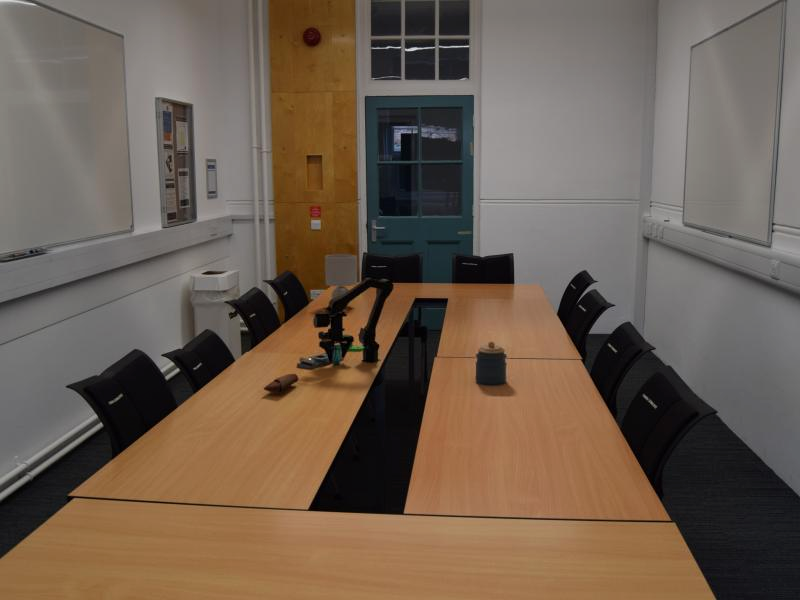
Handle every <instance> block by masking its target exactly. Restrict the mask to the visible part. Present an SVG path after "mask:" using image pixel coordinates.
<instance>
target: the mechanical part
mask: <svg viewBox="0 0 800 600" xmlns="http://www.w3.org/2000/svg"><path fill="white" fill-rule="evenodd" d="M344 335H350V334H349V333H345V334H344ZM351 343H352V344H351V345H350V347H349V349H348V351H347V352H361V351H362V352H363V348H365V347H363V345H361V346H357V345H354V344H353V342H351ZM340 350H341V348H340Z"/></svg>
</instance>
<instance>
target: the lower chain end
mask: <svg viewBox="0 0 800 600" xmlns="http://www.w3.org/2000/svg"><path fill="white" fill-rule="evenodd" d="M329 364H334V362H333V360H332V362H330V361H326V362H322V363H321V362H316V360H315V359H309V358H308V357H299V361H298V363H296V368H301V369H307V370H312V369H316V368H319V367H322V366H326V365H329Z"/></svg>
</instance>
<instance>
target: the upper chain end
mask: <svg viewBox="0 0 800 600" xmlns="http://www.w3.org/2000/svg"><path fill="white" fill-rule="evenodd" d="M307 358H309V359H315V360H316V362H321V363H322V362H326V361H329V359H328V356H327V354H326V351H325V350H324V352H321V353H319V354H316V355H312V356H309V357H307ZM344 359H345V358H342V353H341V350H340V361H342V360H344ZM332 360H333V363H334V354H333V359H332Z"/></svg>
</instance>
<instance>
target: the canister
mask: <svg viewBox="0 0 800 600" xmlns="http://www.w3.org/2000/svg"><path fill="white" fill-rule="evenodd" d="M487 343H488V344H487V345H485V344H484V345H481V346H480V347H478V348H477V353H476V354H475V357H476V361H475V377H474V378H475V379H474V380H475V383H476V384H478V385H482V386H489V387H490V386H491V387H494V386H495V387H496V386H502V385H505V384H506V382H507V364H508V363H507V362H506V360H507V356H508V355H507V354H506V353H505V352H506V350H505V348H503V347H502V346H501V345H496V344H495V342H494V341H489V342H487Z"/></svg>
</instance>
